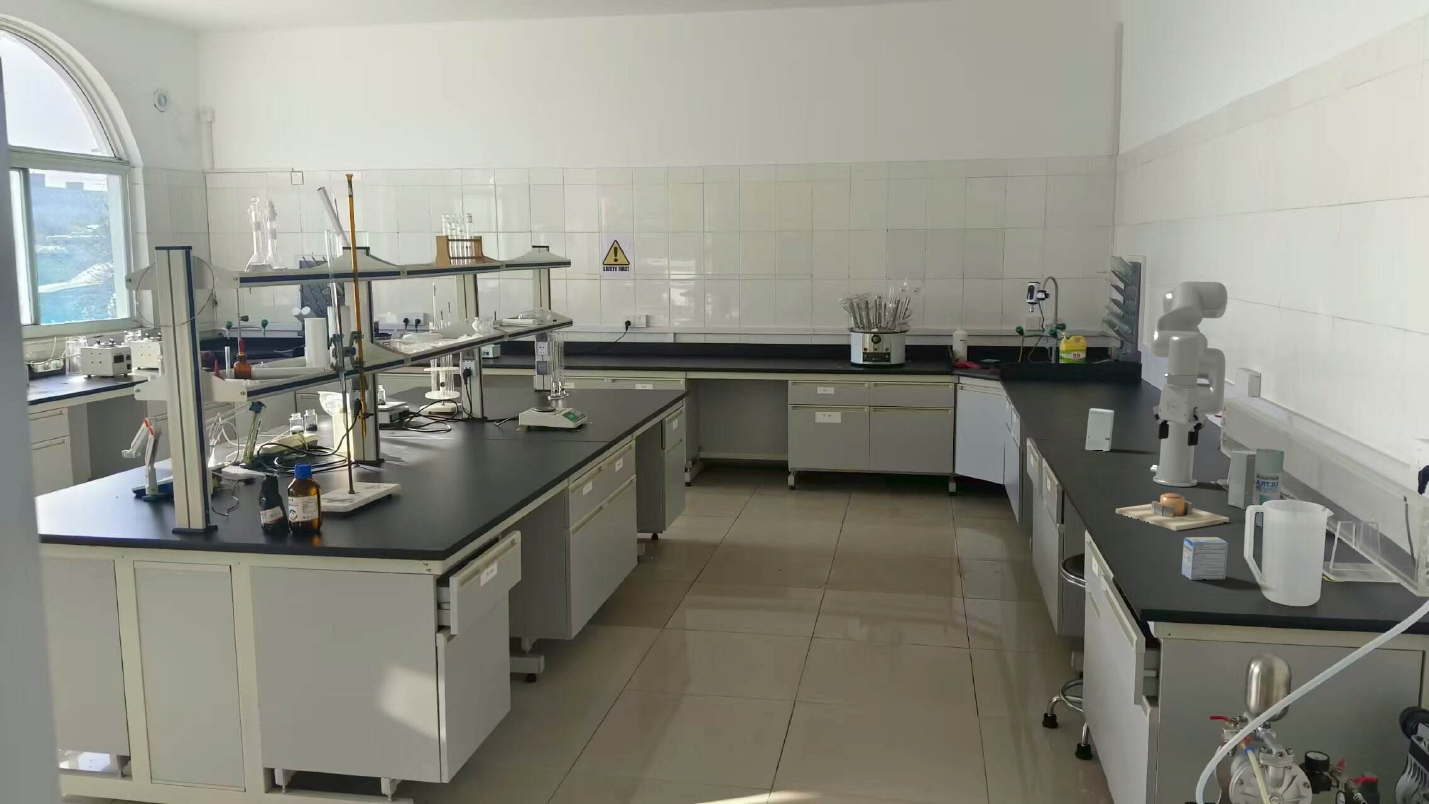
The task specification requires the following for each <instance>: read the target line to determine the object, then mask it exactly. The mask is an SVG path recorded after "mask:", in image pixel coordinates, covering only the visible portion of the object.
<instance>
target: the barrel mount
mask: <svg viewBox="0 0 1429 804" xmlns="http://www.w3.org/2000/svg"><path fill="white" fill-rule="evenodd" d="M1115 514H1117V515H1121V514H1122V515H1121V516H1125V517H1127V516H1128V517H1127V518H1131V517H1132V519H1134V520H1137V519H1139V520H1138V521H1140V522H1141V521H1142V522H1144V521H1145V522H1144V523H1147V522H1149V523H1148V524H1151V525H1154V524H1155V526H1158V527H1160V528H1165V529H1169V530H1172V531H1175V532H1176V531H1182V530H1183V531H1184V530H1188V529H1195V528H1201V527H1202V528H1203V527H1206V526H1208V527H1209V526H1215V525H1219V524H1220V523H1221V524H1224V523H1223V522H1227V523H1229V521H1230V518H1229V517H1227V516H1223V515H1219V514H1217V513H1216V514H1215V513H1211V512H1209V511H1205V510H1200V509H1198V508H1194V503H1192V502H1190V501H1188V500H1185V502H1184V514H1183V515H1180V516H1173V515H1174V506H1170V505H1164V504H1160V502H1158V501H1156V500H1151V503H1148V504H1142V505H1135V506H1127V507H1121V508H1115Z"/></svg>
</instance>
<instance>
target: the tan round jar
mask: <svg viewBox="0 0 1429 804" xmlns="http://www.w3.org/2000/svg"><path fill="white" fill-rule="evenodd" d="M1185 499H1186V497H1185V496H1183V495H1182V494H1180V493H1175V492H1167V493H1166V492H1165V493H1164V494H1161V495H1160V502H1159V503H1160V504H1164V505H1170V506H1174V515H1173V516H1180V515H1183V514H1184V502H1185V501H1186V500H1185Z"/></svg>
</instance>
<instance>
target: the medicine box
mask: <svg viewBox="0 0 1429 804" xmlns="http://www.w3.org/2000/svg"><path fill="white" fill-rule="evenodd" d="M1228 546H1229V543H1228V542H1227V541H1225V540H1224V539H1222V538H1220V537H1216V536H1210V537H1209V536H1202V537H1200V536H1197V537H1192V536H1191V537H1188V536H1187V537H1183V547H1182V548H1183V549H1182V550H1183V551H1182V563H1181V575H1182V576H1184V575H1185V576H1186V577H1185V576H1184V577H1185V578H1187V577H1188V578H1189V580H1190V581H1192V580H1194V581H1196V580H1200V581H1201V580H1203V579H1206V580H1226V571H1227V570H1226V569H1227V559H1228ZM1188 578H1187V579H1188Z"/></svg>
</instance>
